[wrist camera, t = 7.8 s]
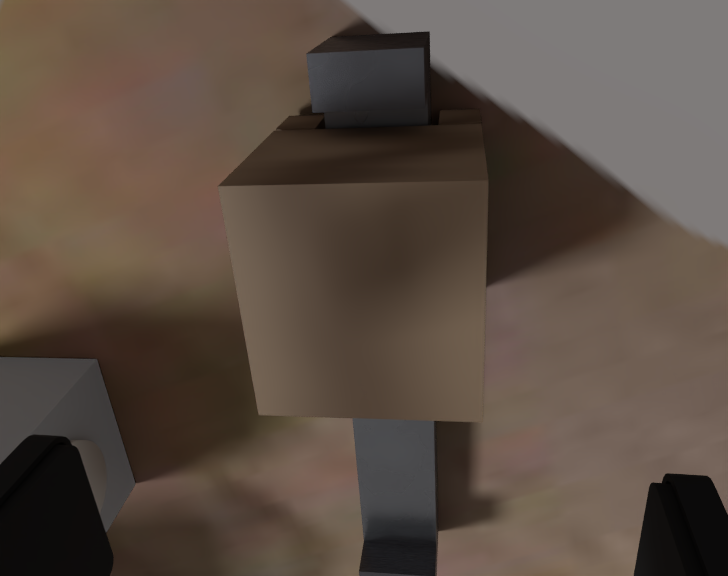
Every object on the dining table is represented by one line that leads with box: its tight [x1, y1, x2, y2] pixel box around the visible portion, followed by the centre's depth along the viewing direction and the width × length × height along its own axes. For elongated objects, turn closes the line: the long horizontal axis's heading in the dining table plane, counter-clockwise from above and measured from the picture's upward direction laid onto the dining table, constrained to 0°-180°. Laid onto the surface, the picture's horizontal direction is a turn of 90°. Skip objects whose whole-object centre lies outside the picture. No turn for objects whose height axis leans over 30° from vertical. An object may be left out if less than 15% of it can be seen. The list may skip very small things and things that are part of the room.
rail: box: [307, 32, 438, 576], centre depth 23 cm, size 3×21×4 cm, turn 4°
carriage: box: [218, 109, 489, 422], centre depth 18 cm, size 6×6×7 cm
